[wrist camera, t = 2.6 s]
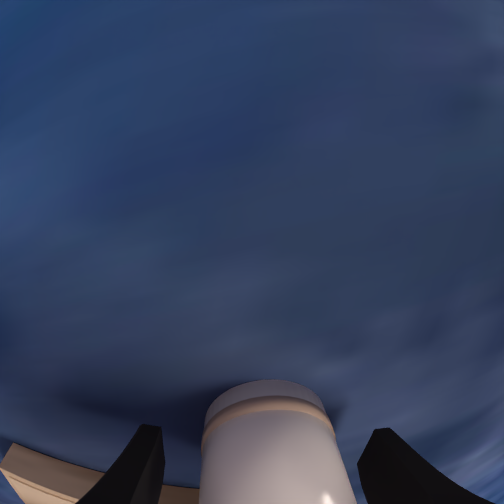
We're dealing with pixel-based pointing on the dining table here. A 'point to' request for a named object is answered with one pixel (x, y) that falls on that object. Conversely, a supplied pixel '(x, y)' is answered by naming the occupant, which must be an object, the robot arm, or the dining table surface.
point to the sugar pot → (271, 448)
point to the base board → (65, 480)
